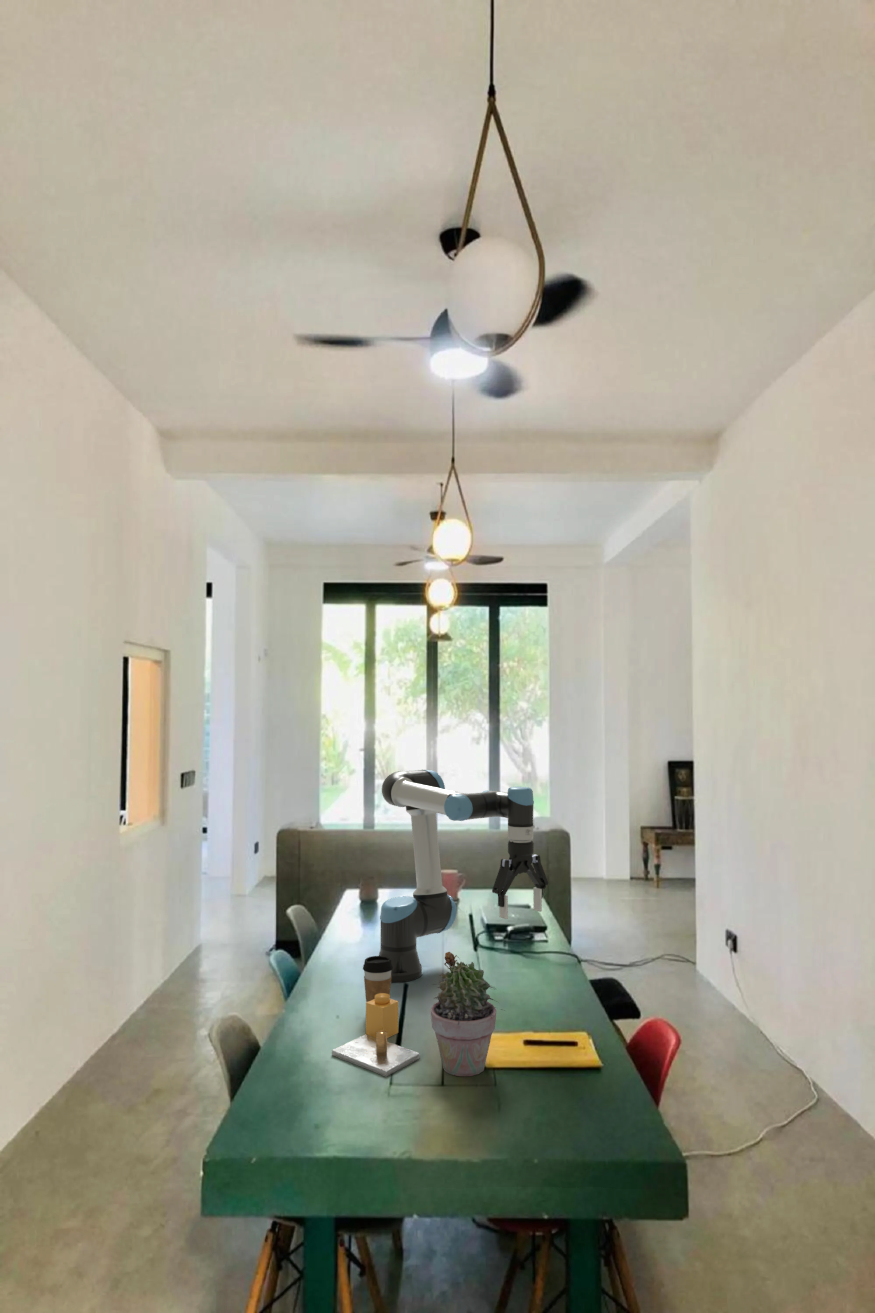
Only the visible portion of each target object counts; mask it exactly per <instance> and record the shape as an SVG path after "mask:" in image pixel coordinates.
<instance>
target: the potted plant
mask: <svg viewBox="0 0 875 1313" xmlns="http://www.w3.org/2000/svg"><path fill="white" fill-rule="evenodd" d="M456 957H457V958H458V959H460V957H459V956H458V955H457V954H454V953H452V952H451V951H447V952H445V953H444V960H445V962H444V963H443V964H444V966H445V967H447V970H449V971H450V972H449V971H446V973H445V974H444V973H442V974H440V975H439V977H442V981H439V987H438V986H437V989H440V990H441V992H439V993H438V994H437V996H436V997H434V999H437V1000H438V1001H437V1002H435V1003H433V1005H432V1007H431V1009H430V1017H431V1018H430V1019H431V1029H432V1030H433V1032H435V1037H436V1042H437V1046H438V1052H439V1056H440V1059H441V1063H442V1068H443V1070H444V1071H445V1073H447V1074H449V1075H451V1076H456V1077H473V1076H476V1075H479V1074H481V1073H482V1072H484V1070H485V1066H486V1063H487V1056H488V1054H489V1047H490V1043H491V1039H492V1035H493V1032H494V1031H495V1030H496V1021H497V1009H496V1008H497V1007H495V1006H494V1004H493V1003H491V1002H489V1000H490V1001H491V1000H492V1001H495V1002H497V1003H499V1001H496V999H493V998H491V996H490V995H489V994H488V993H487V990H488V989H490V990H492V989H493V990H494V991H495V990H497V987H495V986H493V985H491V984H490V983H489V982H488V981H486V979H485V978H484V975H485V971H484V969H483V970H482V969H477V968H475V962H473V961H471V963H469V964H468V963H464V961H463V962H462V961H460V962H458V959H456ZM434 985H436V983H435V984H432V986H434ZM425 986H427V985H426V984H425V985H424V987H425ZM502 993H504V991H502ZM499 1004H500V1003H499ZM500 1010H502V1011H505V1012H506V1010H504V1009H500Z"/></svg>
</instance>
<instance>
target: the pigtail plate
mask: <svg viewBox="0 0 875 1313" xmlns="http://www.w3.org/2000/svg"><path fill="white" fill-rule="evenodd" d="M331 1055H332V1057H333V1056H334V1057H336V1058H338V1059H341V1060H343V1061H346V1062H349V1063H351V1064H354V1065H355V1066H358V1067H360V1068H363V1069H366V1070H368V1071H371V1072H374V1073H376V1074H378V1075H381V1076H382V1077H385V1078H386V1077H388V1076H390V1075H392V1074H394V1073H396V1072H398V1071H399V1070H401V1069H403V1068H405V1067H407V1066H408V1065H411V1064H412V1063H414V1062H416V1061H417V1060H420V1059H421V1057H420V1056H421V1053H420V1052H417V1051H415V1050H412V1049H410V1048H409V1049H408V1048H406V1047H405V1046H404V1047H403V1046H401V1045H398V1044H395V1043H392V1042H390V1041H388V1038H387V1031H385V1030H380V1031H377V1032H376V1037H373V1036H370V1035H367V1034H366V1033H364V1035H361V1036H359V1037H357V1038H354V1039H353V1040H350V1041H348V1042H346V1043H344V1044H342V1045H340V1046H337V1047H335V1048H333V1049H332V1050H331Z"/></svg>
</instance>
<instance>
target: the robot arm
mask: <svg viewBox="0 0 875 1313" xmlns="http://www.w3.org/2000/svg"><path fill="white" fill-rule="evenodd" d="M445 785H446V784H445V783H444V779H443V778H442V776H441V775H440V774H439V773H438V772H437V771H435V770H431V769H417V770H400V771H395V772H393V773H390V774H389V775H388V776H387V777H385V778H384V780H383V782H382V785H381V794H382V797H383V799H384V801H385V802H387V803H388V804H389V805H391V806H394V807H398V808H405V811H406V812H407V813H408V814H409V815H410V821H411V830H412V831H411V833H412V843H413V844H412V845H413V855H414V868H415V880H416V888H415V890H414V891H413V893H412V896H410V895H405V896H404V895H403V896H396V897H391V898H389V899H387V900H385V901H384V902H383V903H382V904H381V907H380V916H379V919H380V950H379V954H378V956H385V957H389V958H391V962H392V965H393V969H392V970H391V976H392V977H391V983H392V982H393V983H400V982H402V983H403V982H409V981H413V980H416V979H419V978H420V977H421V976H422V974H423V971H422V970H423V968H422V963H421V962H420V958H419V954H418V950H417V940H418V939H417V938H421V937H424V936H430V935H434V934H440V933H442V932H445V931H448V930H450V929H451V928H452V926H453V925H454V923H455V921H456V917H457V905H456V903H455V902H456V901H454V898H453V897H452V896H451V895H449V894H448V890H447V888H446V887H445V886H443V881H442V880H443V878H442V869H441V868H442V867H441V859H440V858H441V856H440V847H439V844H440V843H439V834H438V824H437V814H441V815H444V816H446V817H448V819H449V820H450V821H453V822H455V821H459V822H464V821H468V820H469V821H470V820H476V819H486V818H494V817H498V818H506V819H507V839H508V841H507V853H508V854H509V858H508V859H505V858H501V859H500V863H499V864H500V865H499V866H500V867H499V870H498V872H497V876H496V878H495V881H494V884H493V887H492V891H491V892H492V893H493V894H496V895H497V905H498V907H499V908H498V909H499V913H498V914H499V915H498V916H499V918H500V919H504V920H507V919H508V918H509V916H508V915H509V914H508V913H509V909H508V908H509V906H508V905H509V900H508V899H509V896H508V894H507V892H508V891H509V889H510V887H511V885H512V883H513V882H514V879H515V878H516V877H517V876H518V874H520V875H521V874H523V873H526V874H527V875H528V878H530V880H531V881H532V883H533V884H534V886H535V887H533V892H532V893H533V894H532V896H533V911H536V912H542V911H543V909H542V908H543V904H542V902H543V897H544V890H545V889H546V886H548V885H549V881H548V878H547V876H546V873H545V870H544V868H543V865H542V863H541V861H542V860H541V855H540V854H534V852H535V850H534V842H533V840H534V804H535V802H534V791H533V789H532V788H531V787H529V786H509V787H508V789H507V792H505V791H498V790H495V789H494V790H493V789H492V790H483V791H482V792H474V793H467V792H465V793H464V792H460V791H456V790H450V789H446V786H445Z"/></svg>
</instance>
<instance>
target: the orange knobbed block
mask: <svg viewBox="0 0 875 1313" xmlns="http://www.w3.org/2000/svg"><path fill="white" fill-rule="evenodd" d="M365 1002H366V1001H365ZM380 1030H385V1031H387V1039H389V1038H390V1037H393V1036H395V1035H397V1034H398V1033H399V1000H396V999H393V998H391V994H390V995H389V994H386V993H380V994H376V995H375V999H373V1000H371V1001H369V1002H366V1003H365V1034H367V1035H370V1036H373V1037H376V1032H377V1031H380Z"/></svg>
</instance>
